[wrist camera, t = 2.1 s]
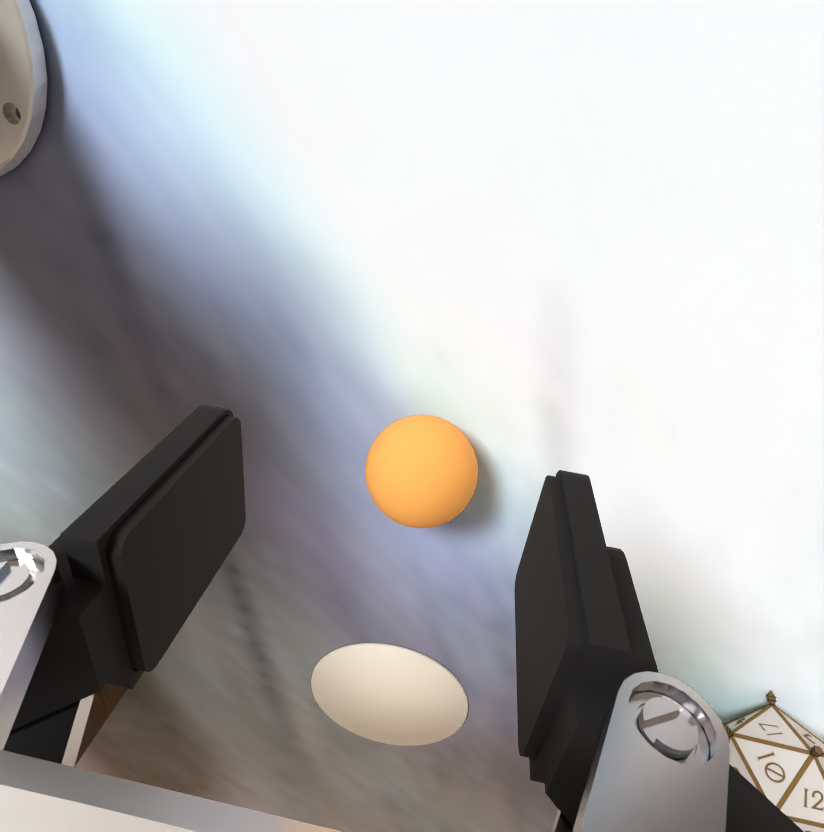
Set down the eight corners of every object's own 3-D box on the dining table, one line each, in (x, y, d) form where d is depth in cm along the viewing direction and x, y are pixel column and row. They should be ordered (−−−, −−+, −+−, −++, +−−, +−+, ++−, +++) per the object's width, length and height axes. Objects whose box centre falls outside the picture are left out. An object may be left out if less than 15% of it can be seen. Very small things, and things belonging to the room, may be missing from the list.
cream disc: (313, 627, 40) (312, 630, 40) (481, 663, 39) (481, 665, 39) (310, 724, 47) (309, 726, 47) (454, 756, 46) (454, 759, 46)
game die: (733, 685, 42) (739, 838, 38) (673, 670, 38) (674, 840, 34) (876, 711, 35) (903, 902, 31) (822, 696, 31) (844, 914, 27)
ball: (382, 387, 29) (357, 443, 24) (489, 405, 29) (485, 467, 24) (374, 473, 32) (349, 539, 27) (470, 491, 32) (464, 562, 27)
